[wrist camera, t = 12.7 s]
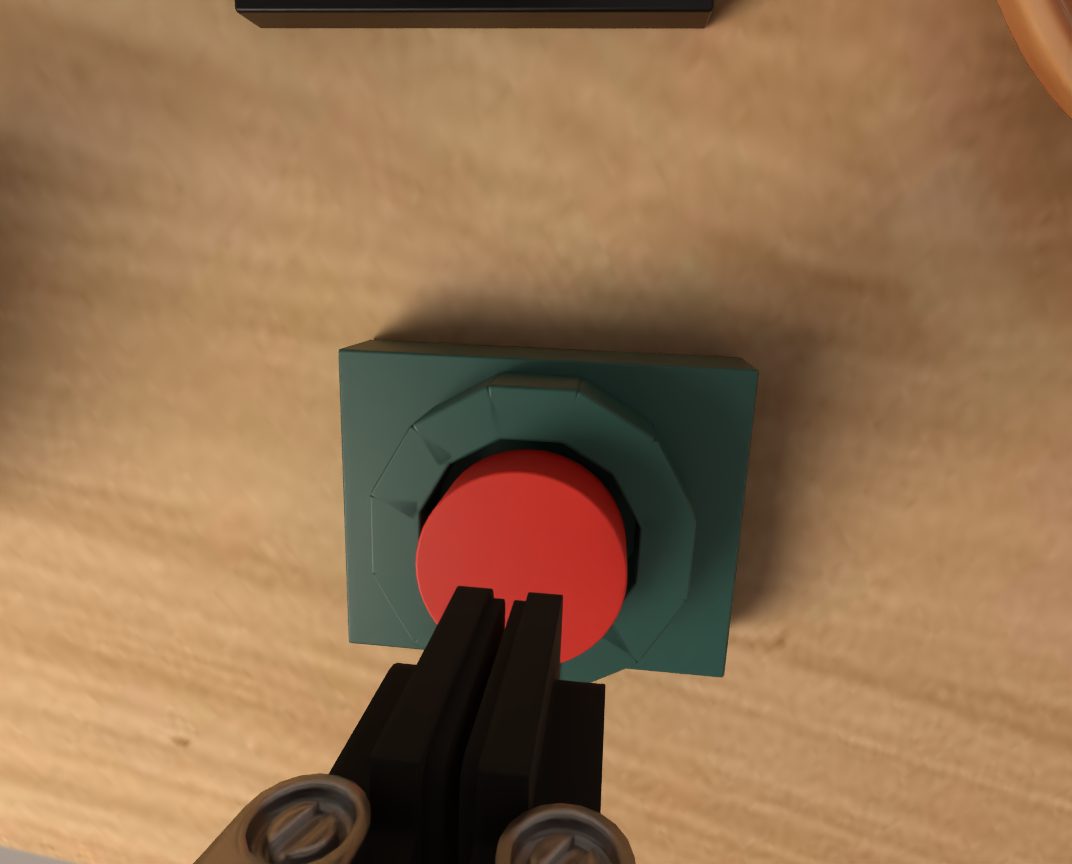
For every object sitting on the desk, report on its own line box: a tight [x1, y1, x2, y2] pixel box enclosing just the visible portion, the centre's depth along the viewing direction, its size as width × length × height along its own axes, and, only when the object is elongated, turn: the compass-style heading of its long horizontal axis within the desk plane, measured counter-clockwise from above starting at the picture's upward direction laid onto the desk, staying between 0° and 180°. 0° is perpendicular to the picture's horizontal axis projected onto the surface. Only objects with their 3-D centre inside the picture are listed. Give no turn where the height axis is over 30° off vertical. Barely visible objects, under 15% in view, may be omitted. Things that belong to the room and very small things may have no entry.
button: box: [415, 449, 627, 663], centre depth 15 cm, size 4×4×2 cm
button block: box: [339, 340, 759, 683], centre depth 17 cm, size 10×8×4 cm
